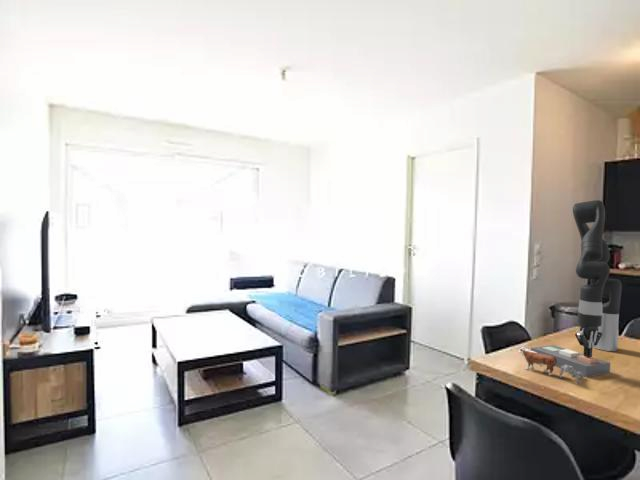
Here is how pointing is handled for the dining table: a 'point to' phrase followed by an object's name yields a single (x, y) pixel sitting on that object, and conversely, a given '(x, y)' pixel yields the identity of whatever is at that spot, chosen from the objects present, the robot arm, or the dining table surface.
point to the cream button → (568, 353)
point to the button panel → (575, 362)
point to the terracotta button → (587, 359)
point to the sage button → (551, 349)
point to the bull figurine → (538, 359)
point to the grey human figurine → (571, 372)
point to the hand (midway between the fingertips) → (587, 356)
